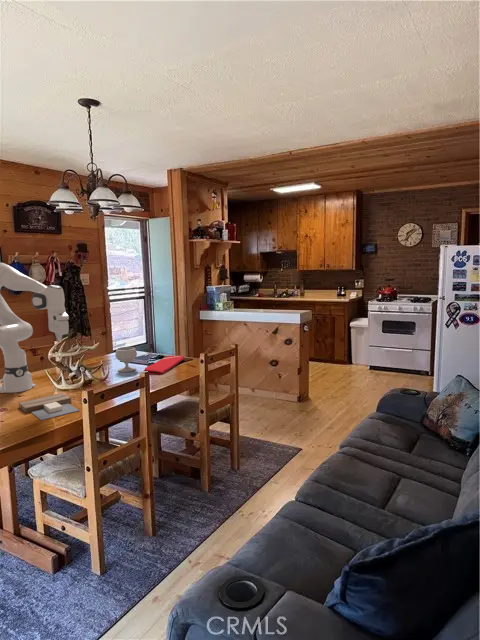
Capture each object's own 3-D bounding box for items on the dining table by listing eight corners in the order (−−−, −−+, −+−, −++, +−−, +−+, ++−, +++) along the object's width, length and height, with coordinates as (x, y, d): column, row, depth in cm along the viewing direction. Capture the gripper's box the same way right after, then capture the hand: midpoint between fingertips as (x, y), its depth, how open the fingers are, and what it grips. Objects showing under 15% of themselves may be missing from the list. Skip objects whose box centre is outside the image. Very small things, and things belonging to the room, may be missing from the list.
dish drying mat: (140, 374, 281) (139, 368, 280) (165, 360, 320) (165, 355, 320) (162, 375, 277) (162, 369, 277) (185, 360, 316) (185, 355, 316)
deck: (19, 407, 221) (18, 402, 220) (62, 397, 235) (62, 393, 235) (26, 413, 212) (25, 408, 212) (71, 402, 226) (70, 397, 226)
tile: (44, 408, 217) (43, 404, 217) (56, 405, 221) (55, 401, 221) (50, 412, 210) (49, 408, 210) (62, 409, 214) (62, 405, 214)
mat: (31, 412, 212) (31, 411, 212) (68, 403, 224) (67, 403, 224) (41, 420, 201) (41, 419, 201) (79, 410, 213) (79, 410, 213)
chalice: (141, 369, 291) (140, 348, 289) (123, 374, 281) (122, 351, 279) (130, 366, 301) (129, 345, 299) (112, 370, 291) (110, 348, 289)
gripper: (44, 314, 236) (46, 339, 238) (57, 317, 221) (60, 344, 223) (56, 313, 240) (58, 337, 242) (70, 316, 225) (72, 342, 227)
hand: (59, 341), depth 232 cm, fingers closed
